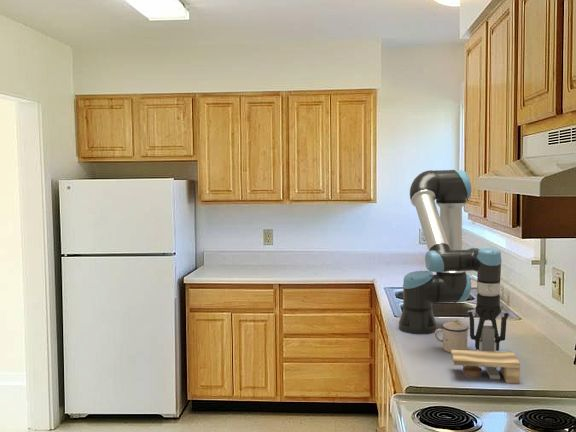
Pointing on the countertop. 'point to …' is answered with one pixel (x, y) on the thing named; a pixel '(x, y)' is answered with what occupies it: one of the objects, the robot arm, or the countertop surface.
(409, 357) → the countertop surface
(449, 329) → the teacup with lid
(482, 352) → the shelf
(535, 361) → the countertop surface
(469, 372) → the coaster
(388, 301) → the countertop surface
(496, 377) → the gray l-shaped block
